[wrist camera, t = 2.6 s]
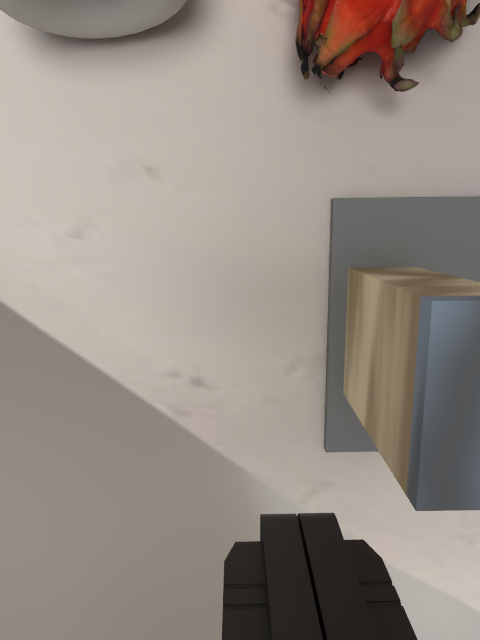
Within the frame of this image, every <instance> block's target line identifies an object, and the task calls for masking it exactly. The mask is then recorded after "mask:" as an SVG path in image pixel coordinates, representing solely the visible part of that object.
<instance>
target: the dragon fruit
mask: <svg viewBox="0 0 480 640" xmlns="http://www.w3.org/2000/svg"><path fill="white" fill-rule="evenodd" d="M466 2H467V0H300V17H299V24H298V28H297V32H296V47H297V53H298V56H299V59H300V60H301V61H303V62H302V64H301V72H302V74H303V77H304V78H305V79H307V78H308V77H309V68H308V67H309V64H308V56H310V55H311V53H312V50H313V46H314V44H315V45H318V46H319V51H318V54H317V55H316V56H315V58H314V60H313V64H314V66H313V68H312V72H313V73H314V75H315V73H316V74H317V75H318V76H319V77H320V78H321V73H323V74H325V75H328V76H331V77H334V78H337V79H341V78H342V76H343V74H344V71H345V69H346V68H348V67H352V66H355V65H356V64H357V63H358V61H359V60H361V59H362V58H360V57H359V56H360V55H361V54H362V53H366V52H370V51H373V52H375V53H377V54H379V55H380V57H381V58H382V64H381V68H380V78H381V79H382V74H383V77H384V79H385V80H386V82H387V83H389V84H390V86H391V87H392V88H393V89H395V91H401V92H403V91H407V90H410V89H411V88H413V87H415V86H417V85H418V84H419V82H416V81H413V79H412V80H411V79H404V78H402V77H401V76H400V75H399V71H400V70H401V69H402V67H403V65H404V52H403V51H411V52H414V51H415V49H416V47H417V45H418V43H419V41H420V40H421V38H422V36H423V35H424V33H425V31H426V30H427V29H435V30H436V31H437V32H438V33H439V34H440V35H441V36H442V37H443V38H444V39H446V40H449V41H450V42H453V41H455V40H457V39H458V38H459V37H460V36H461V34H462V30H463V29H462V27H465V26H468V25H474V24H476V22H477V20H478V19H479V17H480V3H478V5H477V6H476V7H475V8H474V9H473V11H472V12H471V13H470V14H468V15H466ZM357 57H359V58H357ZM315 77H316V76H315ZM316 79H317V78H316ZM321 79H322V78H321ZM321 85H322V84H321ZM325 88H326V87H325ZM326 89H327V88H326ZM328 93H329V92H328Z"/></svg>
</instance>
